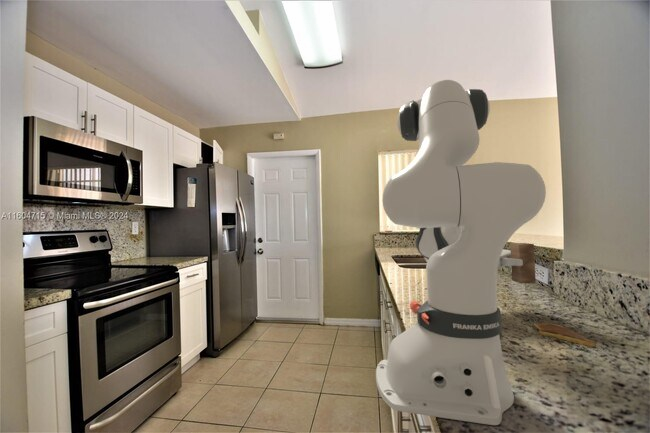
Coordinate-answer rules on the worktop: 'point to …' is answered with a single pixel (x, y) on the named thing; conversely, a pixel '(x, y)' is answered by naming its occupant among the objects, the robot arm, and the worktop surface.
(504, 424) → the worktop surface
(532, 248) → the walnut block
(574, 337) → the shard
